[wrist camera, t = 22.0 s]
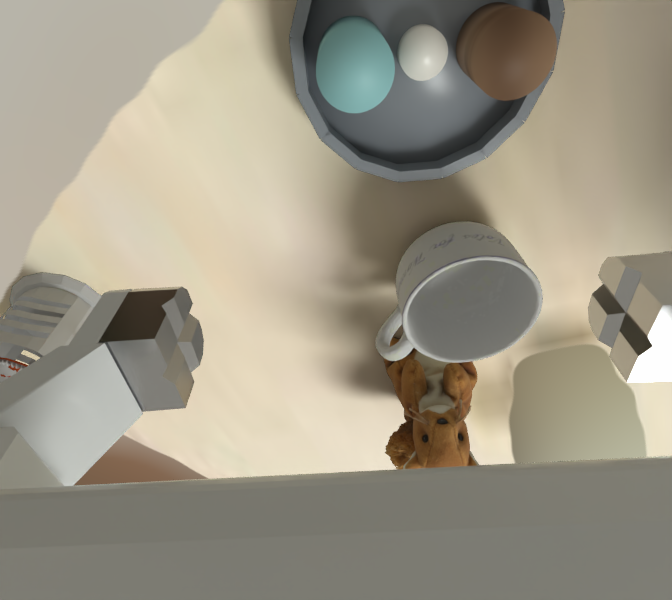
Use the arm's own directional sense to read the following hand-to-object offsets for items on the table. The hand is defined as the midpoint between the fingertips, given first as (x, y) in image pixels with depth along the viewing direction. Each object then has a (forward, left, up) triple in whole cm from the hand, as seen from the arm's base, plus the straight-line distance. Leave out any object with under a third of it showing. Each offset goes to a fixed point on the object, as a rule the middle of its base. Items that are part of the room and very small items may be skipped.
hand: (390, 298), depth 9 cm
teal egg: (0, 0, -26) cm, 26 cm away
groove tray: (-5, 0, -27) cm, 27 cm away
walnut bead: (-9, 0, -26) cm, 28 cm away
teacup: (-7, +18, -27) cm, 33 cm away
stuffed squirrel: (-6, +32, -27) cm, 42 cm away
